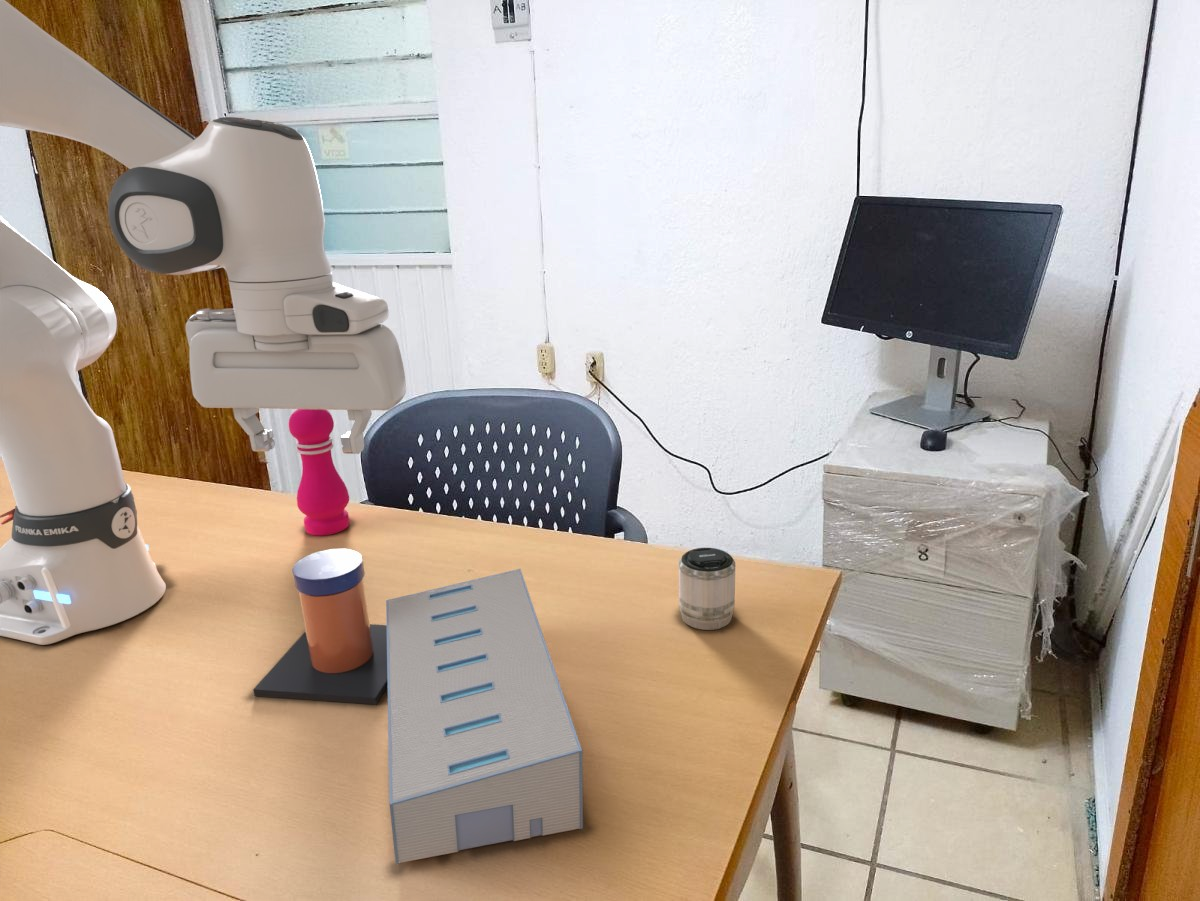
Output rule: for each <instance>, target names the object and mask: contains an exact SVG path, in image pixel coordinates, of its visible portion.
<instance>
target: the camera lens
mask: <svg viewBox="0 0 1200 901" xmlns="http://www.w3.org/2000/svg"><path fill="white" fill-rule="evenodd" d="M735 595H736V560H735V559H734V558H733V556H732V555H731V554H729V553H728V552H727V551H725V550H722V549H719V548H716V547H697V548H693V549H690V550H688V551H686V552H685V553H683V554H682V555H681V557H680V558H679V559H678V604H679V612H680V614H681V619H682V621H683V622H684V623H685V624H686V625H687V626H689V627H692V628H694V629H698V630H704V631H712V630H720V629H723V628H724V627H726V626H728V625H729V624H730V623H731V621H732V618H733V616H732V615H734V610H735V603H736V600H735Z"/></svg>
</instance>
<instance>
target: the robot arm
mask: <svg viewBox="0 0 1200 901" xmlns="http://www.w3.org/2000/svg"><path fill="white" fill-rule="evenodd" d="M0 126H1V127H6V128H13V129H20V130H26V131H31V132H37V133H45V134H48V135H52V136H57V137H62V138H65V139H69V140H72V141H76V142H78V143H79V142H80V143H82V144H85V145H87V146H90V147H91V148H92V147H93V148H95V149H96V150H99V151H100V152H103V153H104V154H106V155H108V156H110V157H111V158H113V159H114V160H116V161H117V162H119V163H120V164H122V165H123V166H125V167H126V168H127V170H125V171H124V172H123V173H122V174H120V176H118V178H117V179H116V180H115V182H114V184H113V186H112V188H111V190H110V193H109V197H108V204H107V214H108V215H107V216H108V221H109V222H108V223H109V226H110V230H111V232H112V235H113V237H114V239H115V241H116V243H117V245H118V246H119V248H120V249H121V250H122V251H123V253H124V254H125V255H126V256H127V258H129V259H130V260H131V262H133V263H134V264H136V265H137V266H139V267H140V268H141V269H143V270H145V271H147V272H151V273H153V274H158V275H168V276H169V275H171V276H183V275H189V274H195V273H200V272H207V271H213V270H216V269H221V268H223V269H224V270H225V273H226V276H227V279H228V285H229V291H230V296H231V302H232V308H220V309H219V308H218V309H213V308H200V309H197V310H196V312H195V313H194V314H192V315H190V316H189V318H188V319H187V322H186V323H185V334H186V339H187V344H188V346H189V353H188V354H189V372H190V373H189V375H190V384H191V392H192V395H193V398H194V399H195V400H196V401H197V403H198V404H199V405H200V406H201V407H202V408H206V409H210V408H211V409H214V408H215V409H232V412H233V416H234V420H236V423H237V424H239V426H240V427H241V428H242V430H243V431H244V432H245V433H246V435H247V436H249V441H250V447H251V450H252V451H253V452H257V453H258V452H270V451H271V450H273V449H274V448H275V446H276V442H275V441H276V440H275V439H274V430H273V429H266V428H265V426H264V424H262V422H261V420H260V419H259V418H258V416H257V415H256V414H258V413H259V412H260V409H268V410H270V409H273V410H297V409H326V410H328V411H334V410H336V411H337V410H338V411H347V417H348V420H349V421H354V423H353V424H352V427H351V430H350V431H347V432H346V433H345V434H343V435H341V436H340V443H341V446H342V447H341V449H342V450H341V451H342V453H343V454H347V455H348V454H349V455H359V454H360V453H362V452H363V451H365V450H364V449H365V439H364V432H365V430H366V428H367V426H368V424H369V422H370V419H371V417H372V415H373V413H372V412H373V411H390V410H391V409H392V408H394V407H395V406H397V405H398V404H399V403H401V401H402V400H403V398H404V397H405V395H406V393H407V380H406V374H405V367H404V363H403V356H402V353H401V349H400V345H399V342H398V339H397V338H396V337H397V336H396V335H395V334H394V332H393V331H392V329H390V328H389V327H388V326H386V325H384V324H382V323H384V322H386V321H387V320H388V318H389V306H388V305H389V304H388V303H387V301H386V300H384V299H383V298H381V297H378V296H375V295H371V294H368V293H366V292H362V291H359V290H357V289H353V288H350V287H347V286H344V285H341V284H339V283H336V282H334V277H333V270H332V266H331V263H330V261H329V259H328V257H327V254H326V251H325V245H324V236H325V229H326V219H325V212H324V207H323V206H324V205H323V199H322V194H321V189H320V184H319V179H318V174H317V169H316V166H315V162H314V159H313V156H312V153H311V150H310V148H309V144H308V143H307V141H306V139H305V138H304V137H303V135H302V134H301V133H299V132H298V130H296V129H295V128H293V127H291V126H289V125H286V124H283V123H279V122H273V121H268V120H260V119H252V118H251V119H250V118H245V117H236V116H235V117H234V116H225V117H224V116H223V117H219V118H216V119H213V120H211V121H210V122H209V123H208V124H207V125H206V127H205V128H204V129H203V131H202V132H201V134H200V135H199V136H197V137H196V135H194V134H192V133H191V132H189V131H188V130H186V129H185V128H184V127H182V126H181V125H179V124H178V123H176V122H175V121H173V119H170V118H169V117H168V116H166V115H164V113H162V112H161V111H160V110H158V109H157V108H155V107H153V106H152V105H151V104H150V103H148V102H147V101H145V100H144V99H143V98H141V97H139V96H138V95H136V94H135V93H133V92H132V91H130V90H129V89H128V88H126V87H125V86H123V85H122V84H120V83H119V82H117V81H116V80H114V79H113V78H111V77H110V76H108V75H106V74H105V73H104V72H102V71H101V70H100V69H98V68H96V67H95V66H93V65H92V64H90V63H89V62H88V61H87V60H85V59H84V58H83V57H82V56H80V55H79V54H77V53H75V51H73V50H71V49H70V48H69V47H67V46H66V45H64V44H63V43H61V42H60V41H58V40H57V39H56V38H55V37H53V36H52V35H51V34H49V33H48V32H46V31H45V30H44V29H42V28H41V27H40V26H39V25H38V24H36V23H35V22H34V21H32V20H31V19H30V18H28V17H27V15H24V14H23V13H22V12H21V11H20V10H18V9H17V8H16V7H14V6H13V5H11V4H10V3H9V2H8V1H6V0H0ZM117 320H118V319H117V314H116V311H115V309H114V306H113V304H112V303H111V301H110V300H109V299H108V297H107V296H106V295H105V294H104V293H103V292H102V291H100V289H98V288H97V287H96V286H93V285H92V284H90V283H87V282H85V281H83V280H81V279H79V278H78V277H75V276H73V275H72V274H70V273H69V271H67V270H65V269H64V268H63V267H61V266H60V265H59V264H58V263H56V262H55V261H54V260H53V259H52V258H50V257H49V256H48V255H47V254H46V253H44V252H43V251H42V250H41V249H40V248H38V247H37V246H36V245H35V244H33V242H31V241H30V240H29V239H28V238H27V237H26V236H24V235H23V234H22V233H20V231H18V230H17V229H16V228H15V227H14V226H12V224H10V222H8V221H7V220H6V219H5V218H4V217H3V216H2V215H1V214H0V456H1V459H2V463H3V465H4V470H5V472H6V475H7V478H8V481H9V485H10V488H11V491H12V494H13V498H14V501H15V504H16V506H14V508H12V509H11V510H9V511H6V512H4V513H2V514H0V519H2V518H4V517H5V518H4V519H3V520H2V521H0V525H1V526H3V525H5V524H7V523H9V522H12V527H11V536H10V538H9V539H8V540H7V541H5V543H4V544H3V545H2V546H1V547H0V637H5V638H9V639H14V640H18V641H21V642H27V643H31V644H36V645H39V646H40V645H41V646H45V645H51V644H54V643H58V642H61V641H62V640H63V641H64V640H67V639H68V638H70V637H73V636H75V635H76V636H77V635H79V634H82V633H87V632H93V631H96V630H99V629H100V630H101V629H103V628H107V627H111V626H113V625H116V624H119V623H122V622H124V621H126V620H130V619H131V618H133V617H135V616H138V615H140V614H141V613H143V612H145V611H146V610H148V609H149V608H151V607H152V606H154V605H155V604H156V603H158V602H159V601H160V599H162V597H163V596H164V595H165V592H166V590H167V585H166V582H165V581H164V580H163V578H162V576H161V574H160V573H159V571H158V568H157V566H156V563H155V562H154V561H153V558H152V557H151V555H150V552H149V550H150V547H149V544H146V542H145V540H144V538H143V534H142V532H141V530H140V527H139V524H138V511H137V510H138V509H137V507H136V503H135V497H134V494H133V492H132V489H131V486H130V485H129V484H128V483H126V480H125V475H124V472H123V469H122V464H121V459H120V456H119V451H118V447H117V443H116V439H115V434H114V431H113V429H112V427H111V425H110V424H109V423H108V421H106V420H105V419H104V418H102V417H100V416H98V415H97V414H96V413H95V412H94V410H93V409H92V408H91V406H90V404H89V402H88V401H87V399H86V398H85V396H84V393H83V392H82V390H81V388H80V386H79V384H78V380H77V372H79V371H81V370H83V369H85V368H86V367H88V366H90V365H92V364H93V363H95V362H96V361H97V360H98V359H99V358H101V356H102V355H103V354H104V352H105V351H106V350H107V349H108V348H109V346H110V345H111V343H112V342H113V340H114V339H115V336H116V333H117V329H118V321H117ZM6 516H7V517H6Z"/></svg>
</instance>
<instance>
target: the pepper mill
mask: <svg viewBox="0 0 1200 901" xmlns="http://www.w3.org/2000/svg"><path fill="white" fill-rule="evenodd" d="M288 419H289V420H288V430H289V433H290V434H291V436H292V437H293V438H295V440H296V442H295V446H296V453H298V454H300V459H301V465H302V466H301V467H302V472H301V478H300V482H299V485H298V488H297V493H296V502H297V503H296V505H297V507H298V510H299V511H300V512H301V513H302V514H303V515H304V518H303V525H304V530H305V532H306V533H307V534H309V535H311V536H330V535H334V534H336V533H340V532H342V531H344V530H346V529H347V528H348V527H349V525H350V517H349V512H348V511H347V510H346V507H347V506H348V504H349V502H350V494H349V491H348V490H349V489H348V487H347V485H346V483H345V481H344V480H343V479H342V477H341V476H340V474H339V472H338V470H337V468H336V467H335V464H334V461H333V456H332V449H333V448H334V443H333V437H332V436H331V434H332V433H333V431H334V426H335V421H334V418H333V415H332V413H330V410H326V409H295V410H294V411H293V412H292V413H291V414H290V417H289V418H288Z"/></svg>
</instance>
